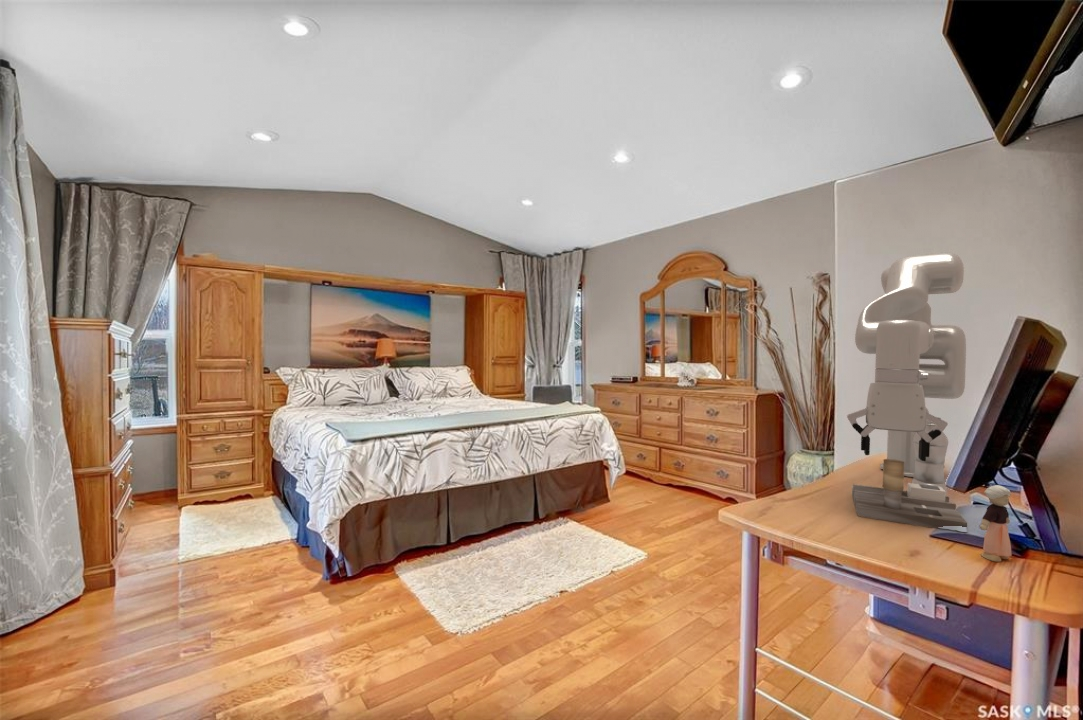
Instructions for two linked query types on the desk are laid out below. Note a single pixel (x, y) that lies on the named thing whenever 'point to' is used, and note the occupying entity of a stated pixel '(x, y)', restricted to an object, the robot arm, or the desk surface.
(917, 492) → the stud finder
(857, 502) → the grey ridged panel
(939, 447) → the plastic bottle
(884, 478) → the tan cylinder
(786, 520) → the desk surface
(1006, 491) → the grandmother figurine
